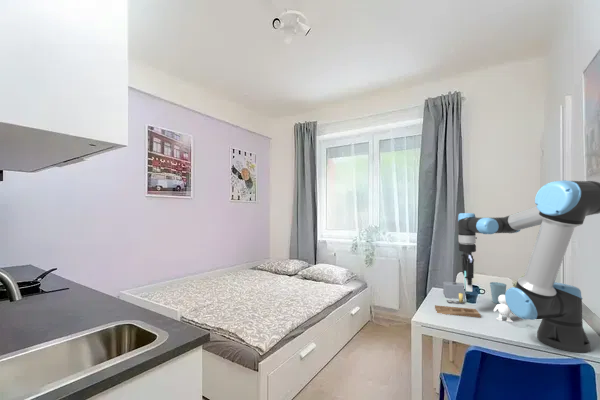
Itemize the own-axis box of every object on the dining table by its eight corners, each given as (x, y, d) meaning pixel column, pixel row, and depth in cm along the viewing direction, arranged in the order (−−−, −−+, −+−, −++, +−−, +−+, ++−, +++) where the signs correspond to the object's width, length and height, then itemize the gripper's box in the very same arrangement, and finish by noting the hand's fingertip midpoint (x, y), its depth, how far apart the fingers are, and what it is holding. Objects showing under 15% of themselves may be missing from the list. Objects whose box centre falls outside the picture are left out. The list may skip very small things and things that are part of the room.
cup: (509, 303, 156) (508, 284, 156) (503, 305, 152) (503, 286, 152) (493, 299, 162) (493, 281, 163) (488, 302, 158) (487, 283, 158)
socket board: (480, 317, 135) (480, 314, 135) (437, 313, 141) (437, 310, 141) (475, 311, 143) (475, 308, 143) (434, 308, 149) (434, 305, 149)
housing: (466, 299, 163) (466, 284, 163) (445, 297, 166) (445, 283, 166) (463, 295, 170) (463, 281, 171) (443, 293, 174) (443, 280, 174)
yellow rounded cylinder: (464, 304, 154) (464, 294, 155) (447, 302, 157) (447, 293, 157) (463, 302, 158) (462, 292, 158) (446, 300, 160) (446, 291, 160)
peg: (472, 292, 139) (471, 272, 139) (465, 291, 140) (465, 271, 140) (470, 290, 142) (470, 270, 142) (464, 290, 143) (463, 270, 143)
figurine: (514, 320, 132) (513, 294, 132) (515, 324, 128) (515, 297, 128) (493, 317, 136) (492, 292, 136) (494, 320, 132) (493, 295, 132)
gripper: (480, 245, 133) (481, 295, 132) (471, 241, 148) (472, 286, 147) (462, 245, 135) (463, 294, 134) (455, 241, 150) (456, 285, 150)
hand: (468, 290), depth 141 cm, fingers closed on peg, 3 cm apart
